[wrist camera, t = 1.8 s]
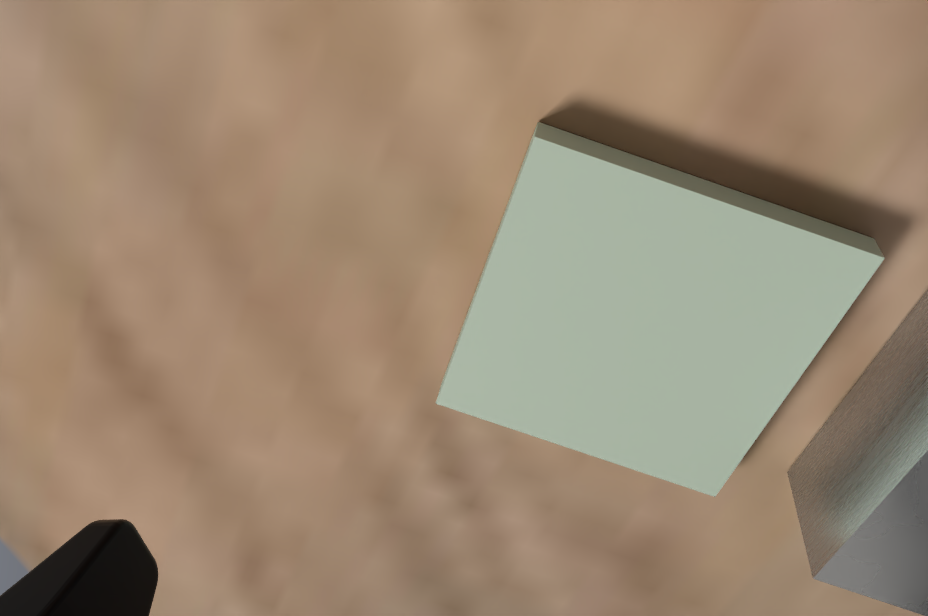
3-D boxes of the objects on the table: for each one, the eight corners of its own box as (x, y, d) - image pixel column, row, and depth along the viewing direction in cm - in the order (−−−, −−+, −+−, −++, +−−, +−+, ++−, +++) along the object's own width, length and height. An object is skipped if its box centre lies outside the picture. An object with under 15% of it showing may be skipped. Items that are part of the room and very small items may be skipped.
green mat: (874, 238, 20) (884, 258, 20) (711, 473, 26) (715, 496, 25) (537, 121, 20) (534, 136, 19) (441, 383, 25) (435, 403, 24)
